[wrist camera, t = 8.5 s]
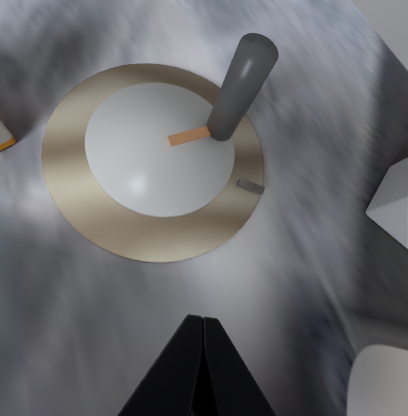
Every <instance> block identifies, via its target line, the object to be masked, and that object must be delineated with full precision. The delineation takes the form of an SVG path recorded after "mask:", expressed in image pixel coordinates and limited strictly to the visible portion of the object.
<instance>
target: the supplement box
mask: <svg viewBox="0 0 408 416" xmlns="http://www.w3.org/2000/svg"><path fill="white" fill-rule="evenodd" d="M15 142H16V141H15V139H14V137H13V136H12V134H11V133H10V132H9V131H8V129H7V128H6V127H5V126H4V124H3V123H2V122H1V121H0V151H1V150H3V149H5V148H7V147H9V146H10V145H12V144H14V143H15Z"/></svg>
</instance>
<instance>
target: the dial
mask: <svg viewBox="0 0 408 416" xmlns="http://www.w3.org/2000/svg"><path fill="white" fill-rule="evenodd" d="M277 60H278V50H277V48H276V46H275V44H274V43H273V42H272V41H271V40H270V39H268V38H267V37H265V36H263V35H261V34H257V33H249V34H246V35H244V36H243V37H242V38H241V40H240V42H239V44H238V47H237V49H236V52H235V54H234V57H233V59H232V62H231V64H230V67H229V69H228V72H227V74H226V77H225V79H224V81H223V84H222V86H221V89H220V91H219V94H218V96H217V99H216V101H215V104H214V106H212V105H211V104H210V103H209V102H207V101H206V100H205V99H203V98H202V97H201V96H199V95H197V94H196V93H194V92H192V91H190V90H187V89H185V88H183V87H179V86H176V85H172V84H167V83H157V82H150V83H140V84H135V85H131V86H128V87H125V88H123V89H120V90H118V91H116V92H115V93H113V94H111V95H110V96H109V97H107V98H106V99H105V100H104V101H103V102H102V103H101V104H100V105H99V106H98V107H97V109H96V110H95V111H94V113H93V115H92V116H91V118H90V120H89V123H88V126H87V129H86V135H85V151H86V157H87V160H88V163H89V166H90V169H91V172H92V174H93V176H94V178H95V180H96V181H97V183H98V184H99V186H100V187H101V189H102V190H103V191H104V192H105V193H106V194H107V195H108V196H109V197H110V198H111V199H112V200H113V201H115V202H116V203H118V204H119V205H120V206H122V207H124V208H126V209H128V210H130V211H132V212H134V213H137V214H140V215H143V216H147V217H152V218H176V217H182V216H186V215H189V214H192V213H194V212H196V211H199V210H200V209H202V208H204V207H205V206H207V205H208V204H209V203H210V202H212V201H213V200H214V199H215V198H216V197H217V195H218V194H219V193H220V192H221V191H222V190H223V188H224V187H225V185H226V184H227V182H228V180H229V178H230V176H231V173H232V170H233V166H234V159H235V150H234V143H233V139H232V135H233V133H234V132H235V130H236V128H237V127H238V125H239V123H240V122H241V120H242V118H243V117H244V115H245V113H246V112H247V110H248V108H249V107H250V105H251V103H252V102H253V100H254V98H255V97H256V95H257V93H258V92H259V90H260V88H261V87H262V85H263V83H264V82H265V80H266V78H267V77H268V75H269V73H270V72H271V70H272V68H273V67H274V65H275V63H276V61H277Z"/></svg>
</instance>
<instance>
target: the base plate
mask: <svg viewBox="0 0 408 416" xmlns="http://www.w3.org/2000/svg"><path fill="white" fill-rule="evenodd" d="M150 82H157V83H167V84H172V85H176V86H179V87H183V88H185V89H187V90H190V91H192V92H194V93H196V94H197V95H199V96H201V97H202V98H203V99H205V100H206V101H207V102H209V103H210V104H211V105H212V106H214V104H215V101H216V99H217V96H218V94H219V91H220V88H219V87H217V86H216V85H214V84H213V83H211V82H210V81H208V80H206V79H204V78H202V77H201V76H198V75H196V74H194V73H191V72H189V71H186V70H183V69H179V68H176V67H171V66H166V65H160V64H131V65H123V66H119V67H114V68H110V69H108V70H105V71H102V72H99V73H97V74H95V75H93V76H91V77H89V78H87V79H86V80H84V81H83V82H81V83H80V84H78V85H77V86H76V87H74V88H73V89H72V90H71V91H70V92H69V93H68V94H67V95H66V96H65V97H64V98H63V99H62V101H61V102H60V103H59V104H58V105H57V107H56V109H55V110H54V112H53V114H52V115H51V117H50V120H49V122H48V125H47V127H46V129H45V134H44V138H43V143H42V157H41V158H42V167H43V174H44V178H45V181H46V185H47V188H48V190H49V192H50V195H51V197H52V199H53V201H54V203H55V204H56V206H57V207H58V209H59V210H60V212H61V214H62V215H63V216H64V217H65V218H66V219H67V220H68V222H69V223H70V224H71V225H72V226H73V227H74V228H75V229H76V230H77V231H78V232H79V233H80V234H82V235H83V236H84V237H85V238H86V239H88V240H89V241H91V242H92V243H94V244H95V245H97V246H98V247H100V248H102V249H104V250H106V251H108V252H110V253H113V254H115V255H118V256H121V257H124V258H127V259H130V260H136V261H142V262H149V263H169V262H179V261H183V260H187V259H192V258H195V257H197V256H200V255H203V254H206V253H208V252H209V251H211V250H213V249H215V248H217V247H219V246H220V245H222V244H223V243H225V242H226V241H227V240H229V239H230V238H231V237H233V236H234V235H235V234H236V233H237V232H238V231H239V230H240V229H241V228H242V227H243V225H244V224H245V223H246V221H247V220H248V219H249V217H250V216H251V214H252V212H253V210H254V209H255V207H256V204H257V202H258V199H259V197H260V195H262V194H263V191H264V188H265V187H262V185H263V175H264V164H263V155H262V150H261V146H260V143H259V140H258V136H257V134H256V132H255V130H254V128H253V125H252V124H251V122H250V121H249V119H248V117H247V116H246V114H245V115H244V117H243V118H242V120H241V122H240V123H239V125H238V127H237V128H236V130H235V132H234V133H233V135H232V139H233V143H234V150H235V159H234V166H233V170H232V173H231V176H230V178H229V180H228V182H227V184H226V185H225V187H224V188H223V190H222V191H221V192H220V193H219V194H218V195H217V197H216V198H215V199H214V200H213V201H212V202H210V203H209V204H208V205H207V206H205V207H204V208H202V209H200V210H199V211H196V212H194V213H192V214H189V215H186V216H182V217H176V218H152V217H147V216H143V215H140V214H137V213H134V212H132V211H130V210H128V209H126V208H124V207H122V206H120V205H119V204H118V203H116V202H115V201H113V200H112V199H111V198H110V197H109V196H108V195H107V194H106V193H105V192H104V191H103V190H102V189H101V187H100V186H99V184H98V183H97V181H96V180H95V178H94V176H93V174H92V172H91V169H90V166H89V163H88V160H87V157H86V151H85V135H86V129H87V126H88V123H89V120H90V118H91V116H92V115H93V113H94V111H95V110H96V109H97V107H98V106H99V105H100V104H101V103H102V102H103V101H104V100H105V99H106V98H107V97H109V96H110V95H111V94H113V93H115V92H116V91H118V90H120V89H123V88H125V87H128V86H131V85H135V84H140V83H150Z"/></svg>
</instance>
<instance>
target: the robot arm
mask: <svg viewBox="0 0 408 416" xmlns="http://www.w3.org/2000/svg"><path fill="white" fill-rule="evenodd" d="M118 416H276V415H275V413H274V411H273V410H272V408H271V406H270V405H269V403H268V401H267V400H266V398H265V396H264V395H263V393H262V391H261V390H260V388H259V386H258V385H257V383H256V381H255V380H254V378H253V376H252V375H251V373H250V371H249V370H248V368H247V366H246V365H245V363H244V361H243V360H242V358H241V356H240V355H239V353H238V351H237V350H236V348H235V346H234V345H233V343H232V342H231V340H230V338H229V337H228V335H227V333H226V332H225V330H224V328H223V327H222V325H221V323H220V322H219V320H218V319H217V318H211V317H203V319H202V317H201V316H198V315H191V314H188V315H187V316H186V317H185V319H184V320H183V321H182V323H181V324H180V326H179V327H178V329H177V330H176V332H175V333H174V335H173V336H172V337H171V339H170V340H169V342H168V343H167V345H166V346H165V348H164V349H163V351H162V352H161V353H160V355H159V356H158V358H157V359H156V361H155V362H154V364H153V365H152V367H151V368H150V369H149V371H148V372H147V374H146V375H145V377H144V378H143V380H142V381H141V382H140V384H139V385H138V387H137V388H136V390H135V391H134V393H133V394H132V396H131V397H130V398H129V400H128V401H127V403H126V404H125V406H124V407H123V409H122V410H121V412H120V413H119V414H118Z"/></svg>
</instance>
